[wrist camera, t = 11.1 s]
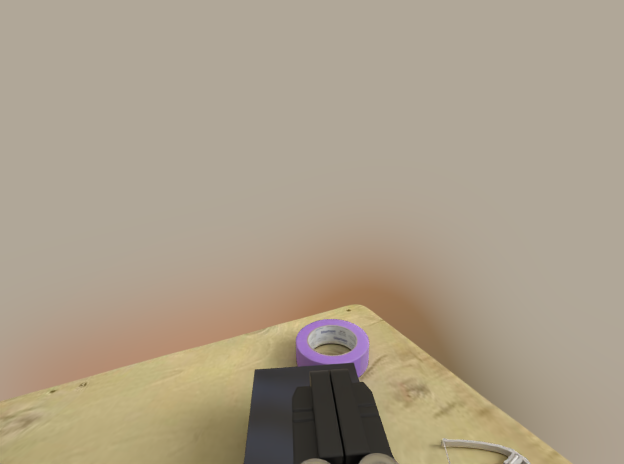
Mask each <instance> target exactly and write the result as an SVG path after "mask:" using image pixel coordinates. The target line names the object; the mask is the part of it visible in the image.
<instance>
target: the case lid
mask: <svg viewBox="0 0 624 464" xmlns="http://www.w3.org/2000/svg"><path fill="white" fill-rule="evenodd" d="M334 369H348V370H349V373H350V377H351V381H352V383H355V382H359V379H358V375H357V372H356V368H355V365H354V363H341V364H327V365H313V366H299V367H285V368H271V369H257V370H255V374H254V382H253V390H252V399H251V407H250V416H249V424H248V433H247V441H246V450H245V458H244V464H293V427H292V396H293V394H294V392H295V390H296V388H297V387H301V386H310V371H321V370H328V371H329V370H334Z"/></svg>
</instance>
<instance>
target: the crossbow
mask: <svg viewBox="0 0 624 464" xmlns="http://www.w3.org/2000/svg"><path fill="white" fill-rule="evenodd" d="M441 446H444V447H445V446H446V447H469V448H478V449H484V450H489V451H495V452H498V453H501V454H504V455H506V456H508V457H509V458H508V459H507V460H505V461H504V463H503V464H531V463H530V462H529V460H528V459H527V458H526V457H523V456H522V455H520V454H519V453H517V452H516V451H514V450H513V449H511V448H507V447H504V446H501V445H498V444H492V443H487V442H481V441H471V440H447V439H445V438H444V439H442V441H441ZM446 447H445V450H446ZM446 454H447V450H446ZM447 458H448V454H447ZM448 461H449V458H448ZM449 464H450V461H449Z"/></svg>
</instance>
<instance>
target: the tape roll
mask: <svg viewBox="0 0 624 464" xmlns="http://www.w3.org/2000/svg"><path fill="white" fill-rule="evenodd" d="M327 343H336V344H341V345H344V346H346V347H348V348H349V349H351V351H349V352H347V353H345V354H341V355H325V354H321V353H319V352H317V351H315V350H314V348H316V347H317V346H320V345H322V344H327ZM368 357H369V339H368V336H367V334H366V333H365V332H364V331H363V330H362V329H361V328H360V327H358V326H357V325H355V324H353V323H350V322H348V321H344V320H338V319H325V320H319V321H315V322H313V323H310V324H308V325H306V326H305V327H304V328H302V329H301V330H300V332H299V333H298V335H297V337H296V359H297V365H298V367H299V366H313V365H327V364H341V363H354V365H355V368H356V372H357V375H358V377H360V376H361V375H362V374H363V373H364V372H365V370H366V368H367V366H368Z"/></svg>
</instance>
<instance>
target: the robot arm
mask: <svg viewBox="0 0 624 464" xmlns="http://www.w3.org/2000/svg"><path fill="white" fill-rule="evenodd" d="M292 427H293V464H398V463H397V462H396V460H395V459H394V457H393V455H392V453H391V450H390V447H389V444H388V440H387V437H386V434H385V431H384V428H383V425H382V422H381V419H380V416H379V413H378V409H377V406H376V403H375V400H374V397H373V394H372V391H371V390H370V389H369V388H368V387H367V386H366V385H365V383H364V382H355V383H352V381H351V377H350V373H349V370H348V369H334V370H329V371H328V370H321V371H310V386H301V387H297V388H296V390H295V392H294V394H293V396H292Z"/></svg>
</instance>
